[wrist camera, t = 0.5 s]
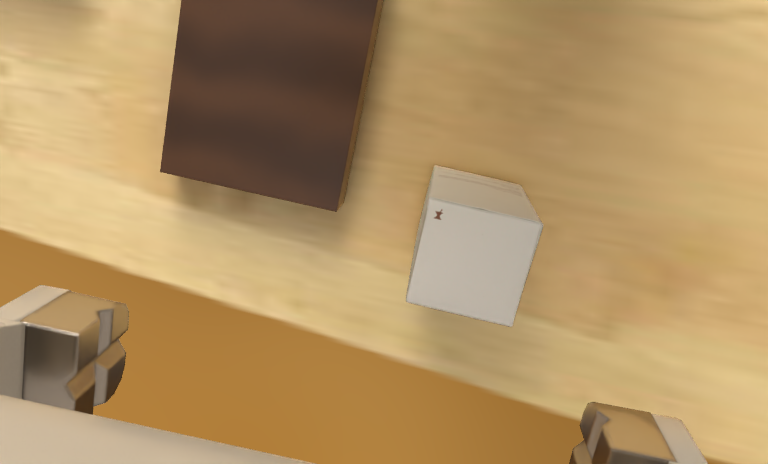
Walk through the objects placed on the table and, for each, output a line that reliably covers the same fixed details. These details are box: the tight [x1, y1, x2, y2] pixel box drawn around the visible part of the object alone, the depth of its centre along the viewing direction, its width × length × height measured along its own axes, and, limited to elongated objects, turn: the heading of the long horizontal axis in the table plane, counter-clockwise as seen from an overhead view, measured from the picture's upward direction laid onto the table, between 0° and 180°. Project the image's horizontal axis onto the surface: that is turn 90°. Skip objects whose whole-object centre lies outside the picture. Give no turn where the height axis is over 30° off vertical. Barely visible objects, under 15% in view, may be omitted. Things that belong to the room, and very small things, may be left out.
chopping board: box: [160, 0, 384, 212], centre depth 53 cm, size 20×14×4 cm
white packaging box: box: [406, 165, 543, 327], centre depth 50 cm, size 7×7×13 cm
